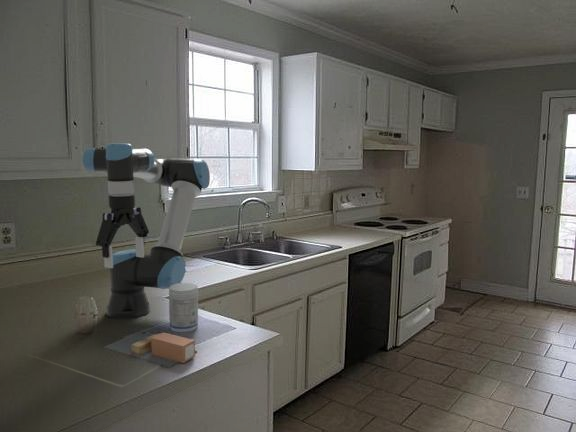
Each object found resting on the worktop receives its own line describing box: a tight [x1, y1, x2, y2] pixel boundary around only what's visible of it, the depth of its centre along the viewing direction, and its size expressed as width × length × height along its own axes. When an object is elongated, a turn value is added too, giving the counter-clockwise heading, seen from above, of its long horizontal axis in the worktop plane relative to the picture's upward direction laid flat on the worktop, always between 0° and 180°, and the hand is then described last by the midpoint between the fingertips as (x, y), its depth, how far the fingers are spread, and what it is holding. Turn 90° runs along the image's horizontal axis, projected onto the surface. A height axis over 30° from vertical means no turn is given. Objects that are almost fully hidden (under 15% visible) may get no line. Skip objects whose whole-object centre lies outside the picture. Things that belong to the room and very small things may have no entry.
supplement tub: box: [168, 282, 199, 333], centre depth 162 cm, size 10×10×15 cm
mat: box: [104, 333, 198, 369], centre depth 145 cm, size 12×26×1 cm, turn 62°
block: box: [151, 332, 196, 364], centre depth 141 cm, size 5×5×12 cm
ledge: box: [131, 333, 160, 355], centre depth 145 cm, size 10×3×3 cm, turn 152°
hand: (125, 262), depth 150 cm, fingers open, 13 cm apart
